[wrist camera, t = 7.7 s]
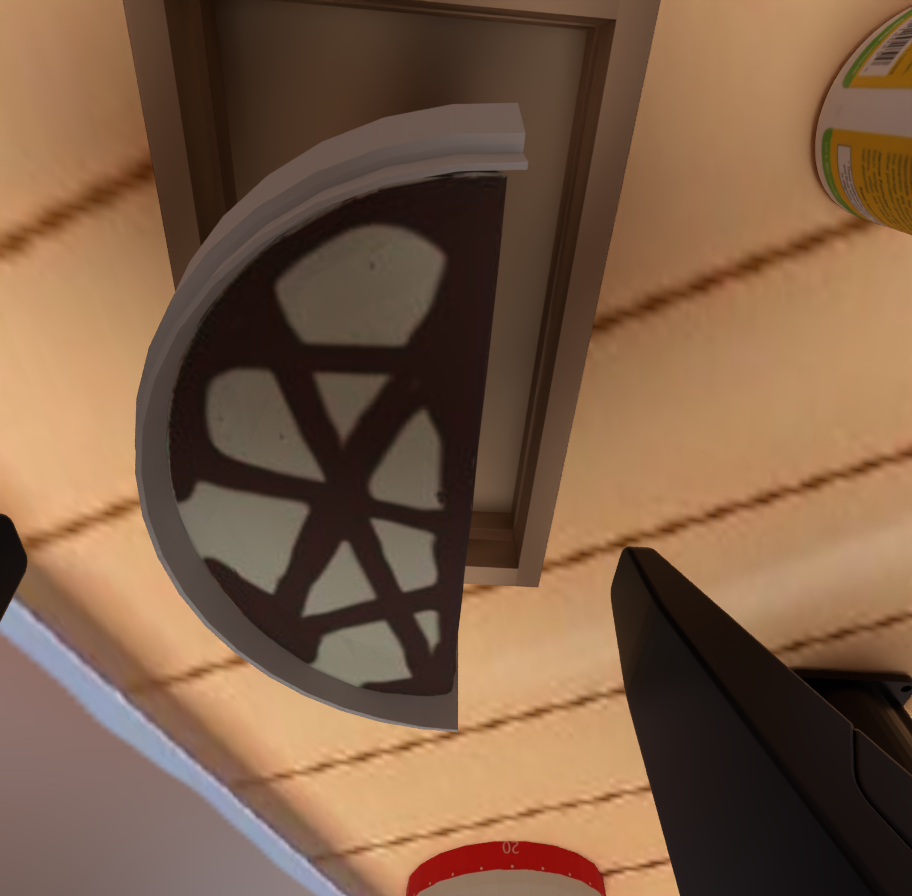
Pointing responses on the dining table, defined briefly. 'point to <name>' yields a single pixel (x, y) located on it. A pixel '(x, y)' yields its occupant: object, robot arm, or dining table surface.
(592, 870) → the kitchen timer
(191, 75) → the tray
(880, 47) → the supplement bottle
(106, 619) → the dining table surface
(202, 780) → the dining table surface
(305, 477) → the food container
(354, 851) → the dining table surface
